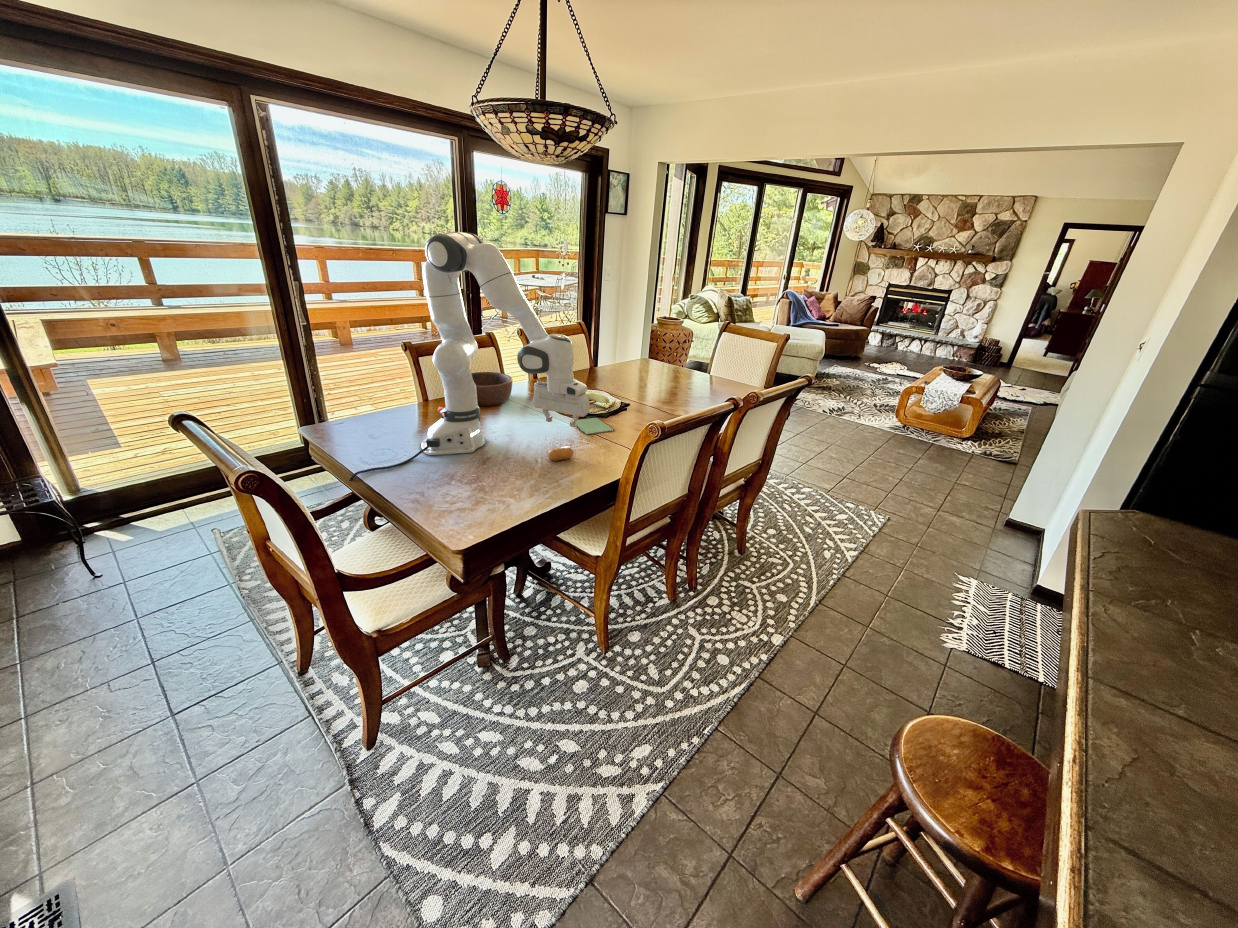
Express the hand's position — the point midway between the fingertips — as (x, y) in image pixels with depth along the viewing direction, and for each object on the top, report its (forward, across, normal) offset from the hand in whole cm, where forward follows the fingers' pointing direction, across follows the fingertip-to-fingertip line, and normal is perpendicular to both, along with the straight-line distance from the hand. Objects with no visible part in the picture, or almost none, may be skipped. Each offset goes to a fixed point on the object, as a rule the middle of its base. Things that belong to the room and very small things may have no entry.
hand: (560, 423), depth 165 cm
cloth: (+14, -6, +35) cm, 38 cm away
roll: (+14, 0, 0) cm, 14 cm away
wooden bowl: (+13, -64, +39) cm, 76 cm away
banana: (+14, -17, +57) cm, 61 cm away
